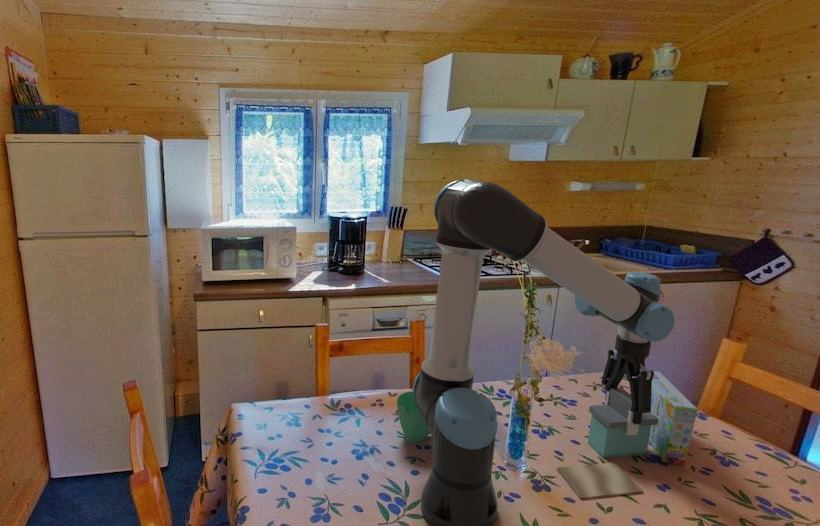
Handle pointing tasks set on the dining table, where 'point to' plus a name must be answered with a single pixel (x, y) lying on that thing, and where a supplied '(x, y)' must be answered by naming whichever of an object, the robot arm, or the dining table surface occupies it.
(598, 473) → the plate
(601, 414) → the lid
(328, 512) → the dining table surface
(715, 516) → the dining table surface
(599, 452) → the tub
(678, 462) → the snack box
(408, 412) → the mug
